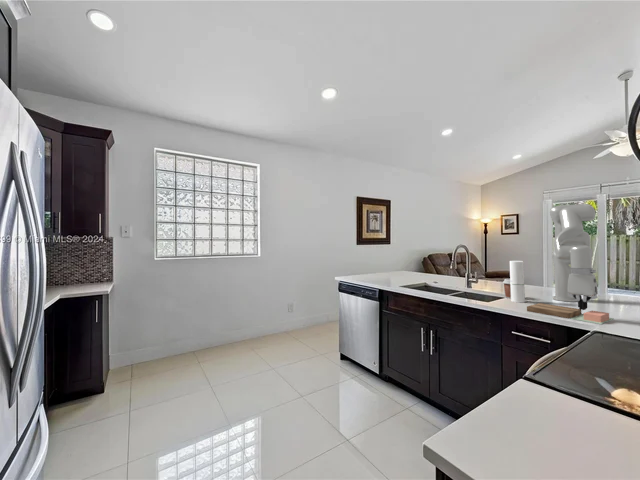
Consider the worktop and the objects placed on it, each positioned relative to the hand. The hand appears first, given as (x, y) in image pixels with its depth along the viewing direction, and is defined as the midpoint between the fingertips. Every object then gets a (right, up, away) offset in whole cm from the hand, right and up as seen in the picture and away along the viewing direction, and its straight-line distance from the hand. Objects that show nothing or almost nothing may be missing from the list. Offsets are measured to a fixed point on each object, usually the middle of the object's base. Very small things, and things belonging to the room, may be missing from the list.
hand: (582, 309), depth 136 cm
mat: (+2, -4, -2) cm, 5 cm away
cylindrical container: (-4, -5, +38) cm, 39 cm away
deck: (-5, -4, +11) cm, 13 cm away
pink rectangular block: (+2, -2, -4) cm, 5 cm away
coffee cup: (-1, -5, +49) cm, 49 cm away
